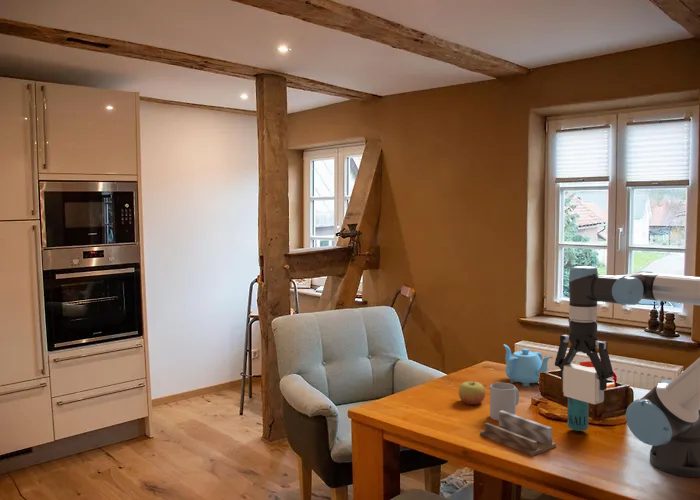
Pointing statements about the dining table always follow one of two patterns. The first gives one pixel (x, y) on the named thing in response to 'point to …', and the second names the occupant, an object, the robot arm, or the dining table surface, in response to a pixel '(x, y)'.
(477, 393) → the apple
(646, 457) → the dining table surface
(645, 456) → the dining table surface
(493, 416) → the mug
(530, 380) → the teapot
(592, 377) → the white rectangular block
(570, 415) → the beverage bottle
